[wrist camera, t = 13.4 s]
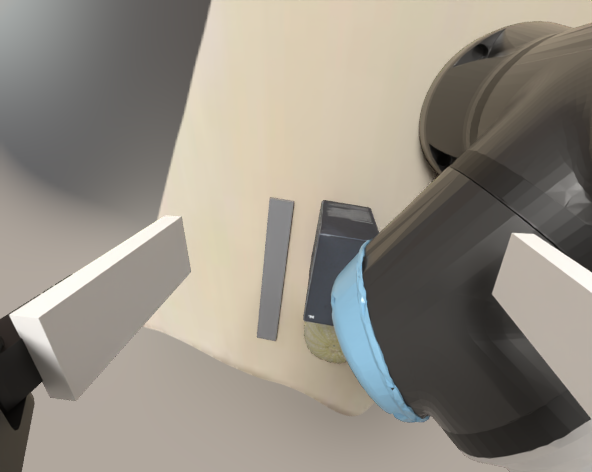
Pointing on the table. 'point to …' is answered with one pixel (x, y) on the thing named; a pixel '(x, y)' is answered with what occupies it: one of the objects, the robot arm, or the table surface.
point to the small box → (334, 253)
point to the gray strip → (274, 266)
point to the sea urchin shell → (323, 342)
